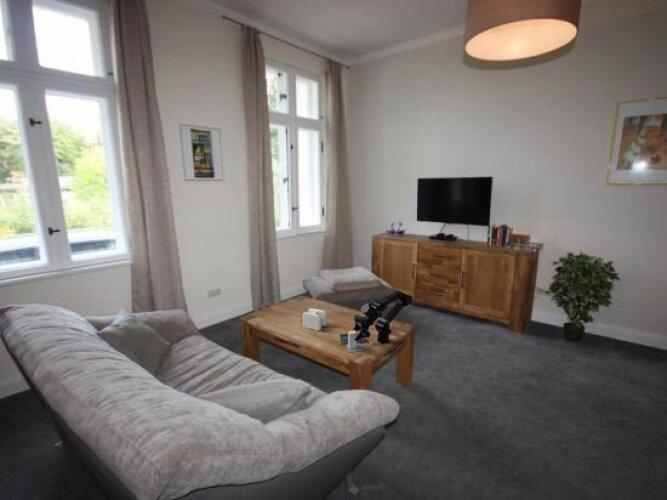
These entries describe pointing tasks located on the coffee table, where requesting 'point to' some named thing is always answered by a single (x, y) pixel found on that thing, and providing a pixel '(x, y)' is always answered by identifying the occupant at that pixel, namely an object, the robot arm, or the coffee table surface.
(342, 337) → the power strip
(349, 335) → the block
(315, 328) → the cable organizer
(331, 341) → the coffee table surface
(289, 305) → the coffee table surface
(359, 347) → the rubber pad
